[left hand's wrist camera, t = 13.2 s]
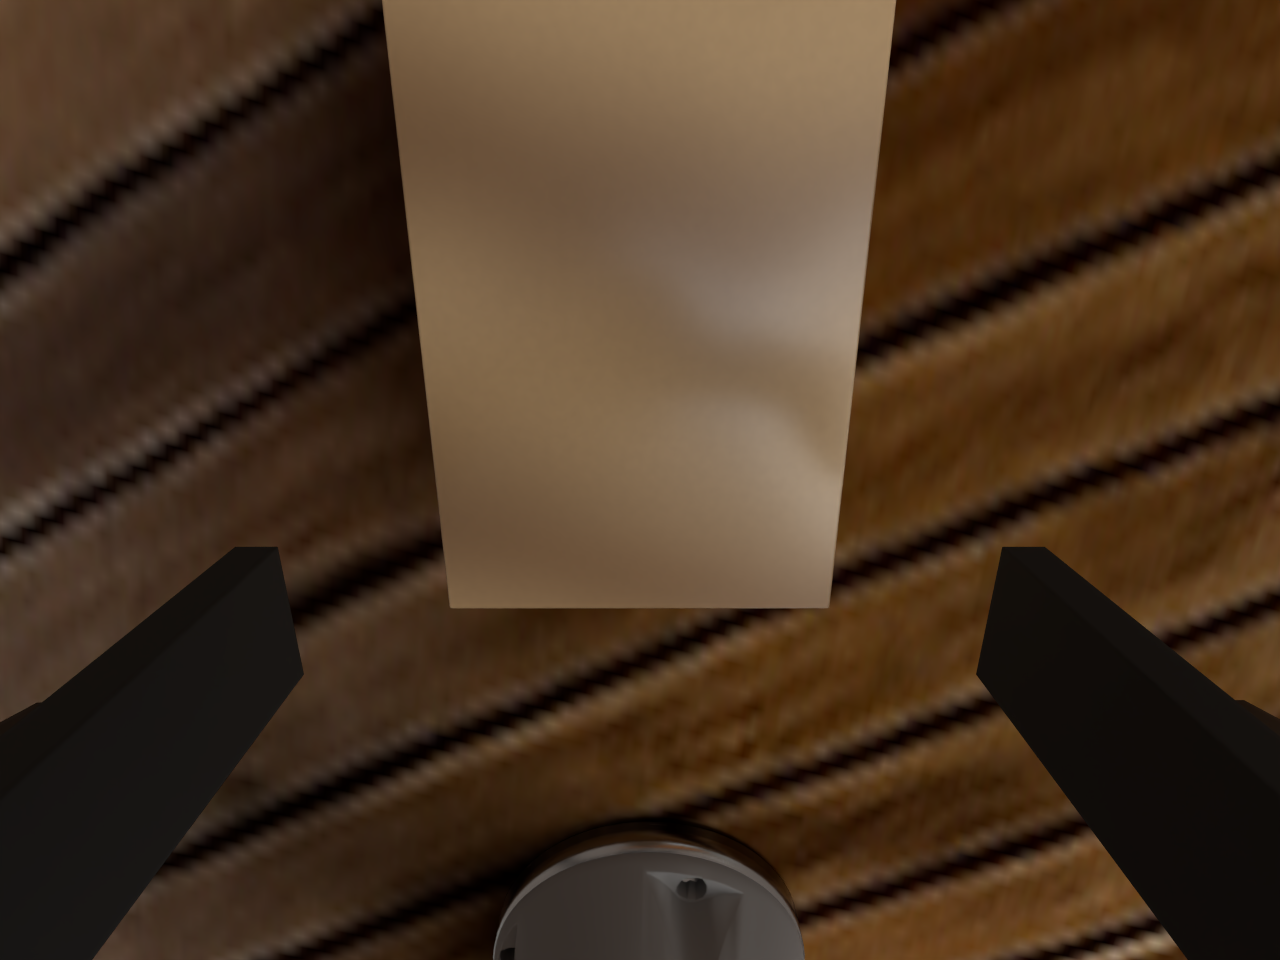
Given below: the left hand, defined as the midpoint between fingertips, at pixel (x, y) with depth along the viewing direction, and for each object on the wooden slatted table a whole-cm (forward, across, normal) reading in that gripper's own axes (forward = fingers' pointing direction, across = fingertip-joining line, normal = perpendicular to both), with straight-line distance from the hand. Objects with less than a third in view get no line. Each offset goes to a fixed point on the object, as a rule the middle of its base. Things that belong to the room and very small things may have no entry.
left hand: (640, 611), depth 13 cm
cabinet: (+14, 0, -8) cm, 16 cm away
